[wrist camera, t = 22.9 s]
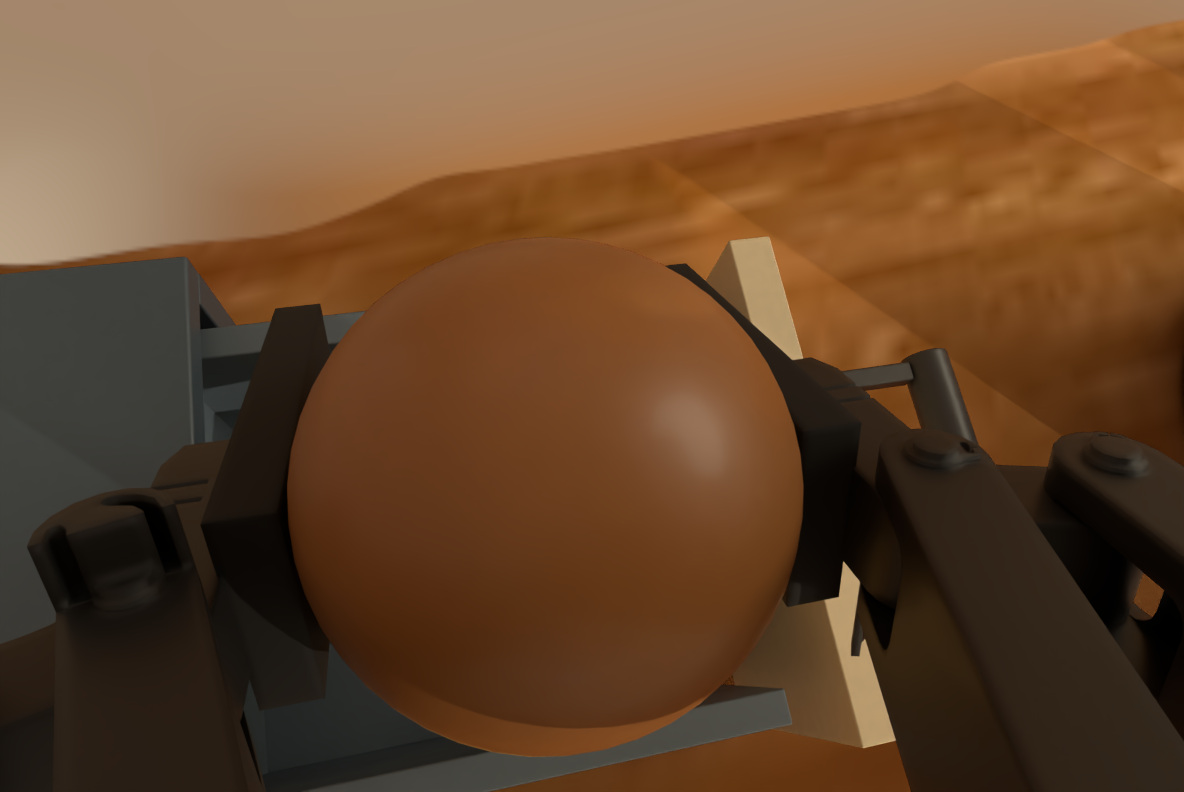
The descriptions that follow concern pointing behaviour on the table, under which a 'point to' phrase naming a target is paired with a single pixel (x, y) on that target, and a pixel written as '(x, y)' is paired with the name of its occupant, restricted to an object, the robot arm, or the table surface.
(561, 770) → the drawer
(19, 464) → the cabinet
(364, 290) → the table surface
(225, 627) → the robot arm
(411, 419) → the dome-topped cylinder
